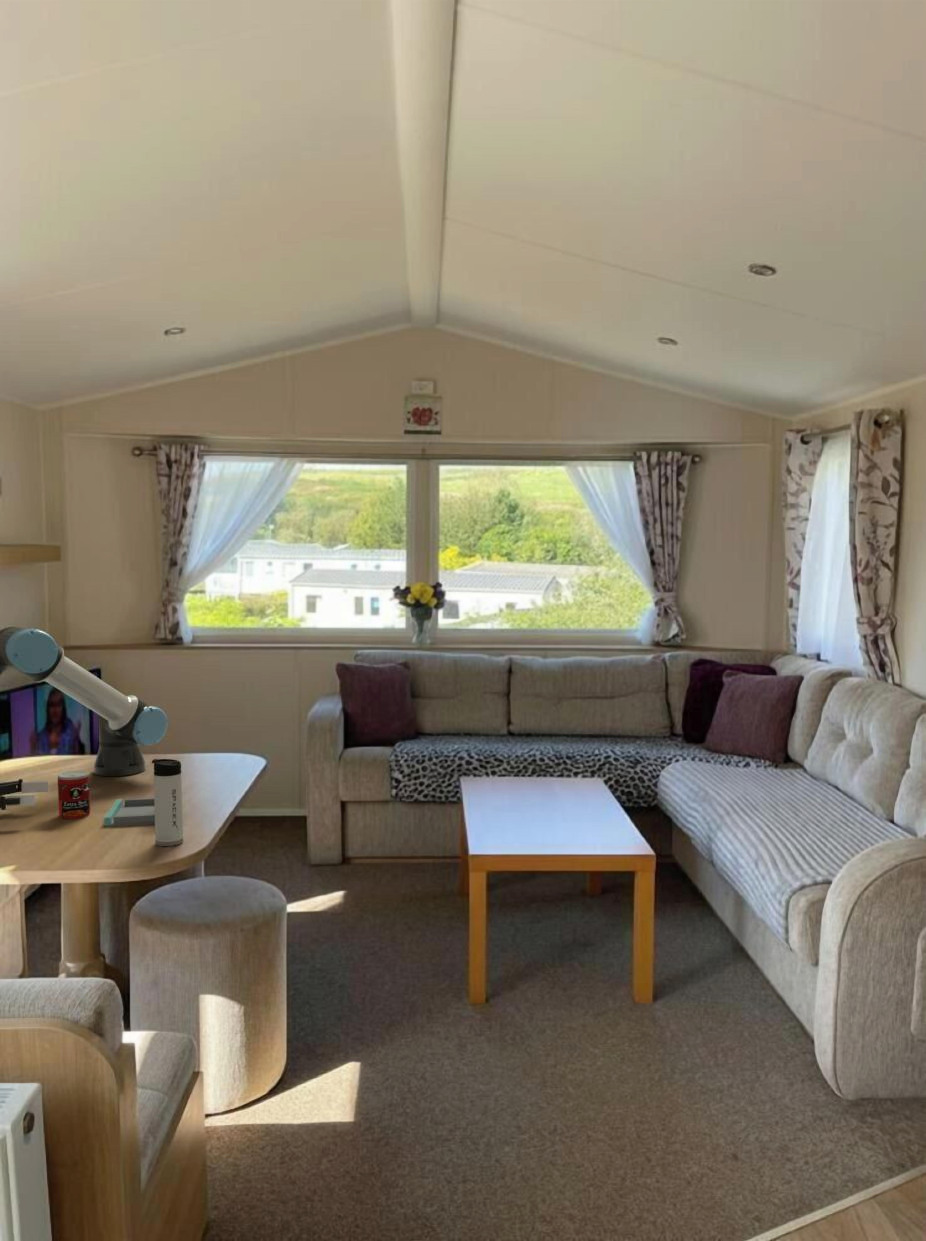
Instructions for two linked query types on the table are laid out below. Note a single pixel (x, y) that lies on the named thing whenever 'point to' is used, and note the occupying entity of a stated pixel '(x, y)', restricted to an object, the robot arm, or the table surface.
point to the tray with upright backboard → (131, 812)
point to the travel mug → (168, 802)
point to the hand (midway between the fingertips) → (41, 792)
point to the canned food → (74, 794)
